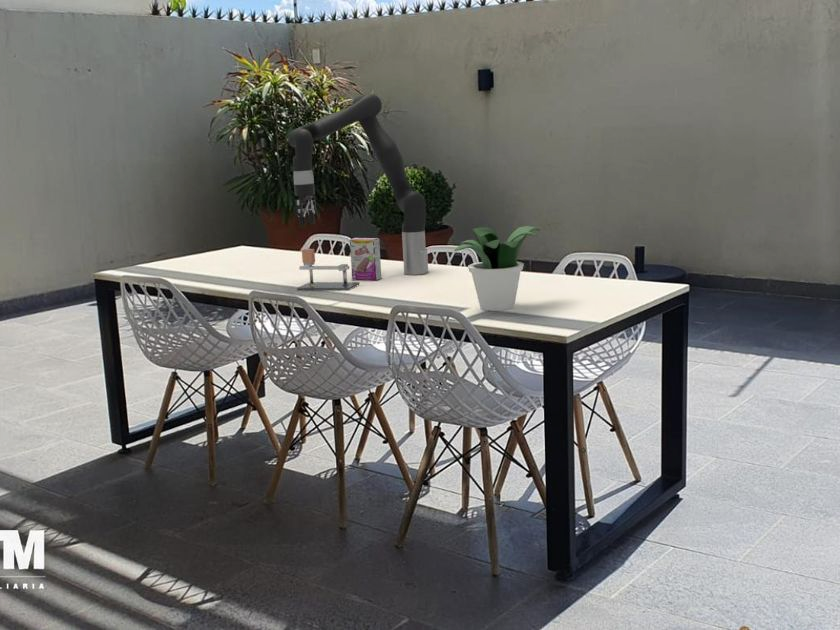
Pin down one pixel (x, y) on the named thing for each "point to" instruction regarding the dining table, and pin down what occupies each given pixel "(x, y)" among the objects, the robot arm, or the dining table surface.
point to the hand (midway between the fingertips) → (307, 225)
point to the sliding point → (309, 260)
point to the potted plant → (496, 267)
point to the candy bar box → (365, 258)
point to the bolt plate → (329, 285)
